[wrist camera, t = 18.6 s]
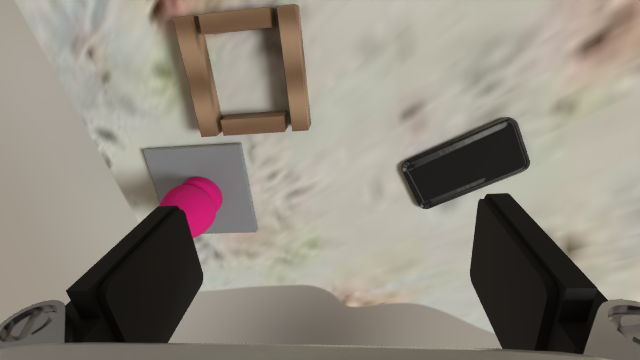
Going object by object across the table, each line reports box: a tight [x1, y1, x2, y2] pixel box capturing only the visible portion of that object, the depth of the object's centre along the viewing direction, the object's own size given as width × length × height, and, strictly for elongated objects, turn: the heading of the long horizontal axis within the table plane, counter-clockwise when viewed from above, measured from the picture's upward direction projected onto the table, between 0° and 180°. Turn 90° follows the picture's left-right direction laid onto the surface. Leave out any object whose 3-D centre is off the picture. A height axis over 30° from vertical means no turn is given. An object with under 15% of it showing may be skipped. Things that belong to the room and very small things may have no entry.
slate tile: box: [144, 143, 258, 234], centre depth 50 cm, size 14×14×1 cm
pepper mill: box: [160, 177, 223, 238], centre depth 40 cm, size 7×7×20 cm
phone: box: [402, 117, 530, 209], centre depth 45 cm, size 8×1×15 cm
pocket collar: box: [173, 4, 311, 137], centre depth 41 cm, size 14×14×3 cm
